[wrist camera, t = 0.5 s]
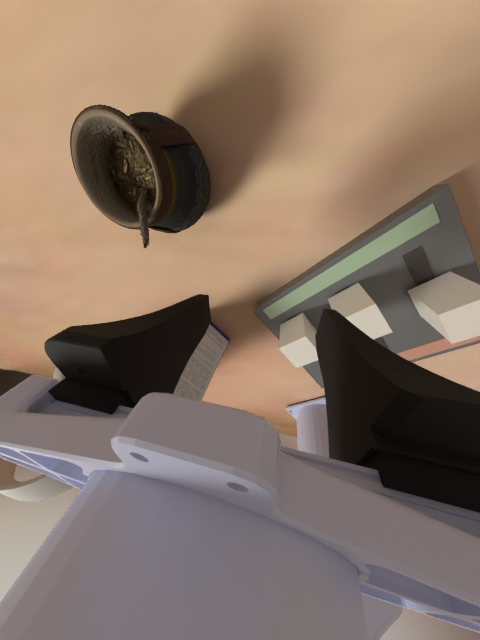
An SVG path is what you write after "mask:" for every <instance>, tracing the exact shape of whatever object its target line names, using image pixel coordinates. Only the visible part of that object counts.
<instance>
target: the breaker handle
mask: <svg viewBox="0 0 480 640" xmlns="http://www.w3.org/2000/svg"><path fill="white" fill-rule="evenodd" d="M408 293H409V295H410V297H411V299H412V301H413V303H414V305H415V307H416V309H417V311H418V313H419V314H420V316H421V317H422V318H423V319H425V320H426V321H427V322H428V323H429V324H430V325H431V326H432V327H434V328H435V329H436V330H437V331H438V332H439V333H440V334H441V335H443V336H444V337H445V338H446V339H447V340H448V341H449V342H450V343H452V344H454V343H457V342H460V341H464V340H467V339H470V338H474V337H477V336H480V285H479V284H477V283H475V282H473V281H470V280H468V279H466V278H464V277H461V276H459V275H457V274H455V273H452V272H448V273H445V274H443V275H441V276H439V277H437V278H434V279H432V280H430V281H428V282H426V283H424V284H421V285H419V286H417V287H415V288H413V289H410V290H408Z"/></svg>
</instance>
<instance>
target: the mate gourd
mask: <svg viewBox="0 0 480 640" xmlns="http://www.w3.org/2000/svg"><path fill="white" fill-rule="evenodd" d="M70 147H71V156H72V161H73V165H74V169H75V171H76V174H77V176H78V179H79V181H80V183H81V185H82V187H83V189H84V190H85V192H86V194H87V195H88V197H89V198H90V200H91V201H92V202H93V204H94V205H95V206H96V207H97V208H98V209H99V210H100V211H101V212H102V213H103V214H104V215H105V216H106V217H107V218H109V219H110V220H112V221H113V222H115V223H117V224H119V225H121V226H123V227H126V228H129V229H139V230H140V231H141V235H142V237H143V239H142V240H143V244H144V248H146V247H147V246H148V245H149V233H148V231H149V229H148V228H151V229H153V230H157V231H162V232H165V233H178V232H180V231H182V230H185V229H187V228H189V227H190V226H192V225H194V224H195V223H196V222H197V221H198V220H199V219H200V217H201V216H202V215H203V213H204V211H205V209H206V207H207V205H208V202H209V197H210V176H209V171H208V169H207V166H206V163H205V160H204V158H203V154H202V152H201V150H200V148H199V146H198V145H197V143H196V142H195V141H194V139H193V137H192V136H191V134H190V133H189V132H188V131H187V130H186V129H185V128H184V127H183V126H180V125H179V124H177V123H175V122H174V121H173V120H171V119H169V118H167V117H165V116H163V115H160V114H158V113H153V112H140V113H139V112H138V113H134V114H131V115H130V116H127V115H125V114H124V113H123V112H121V111H120V110H116V109H115V108H112V107H110V106H105V105H94V106H90V107H88V108H85V109H84V110H83V111H82V112H81V113H80V114H79V115H78V116H77V118H76V119H75V121H74V123H73V126H72V130H71V136H70Z"/></svg>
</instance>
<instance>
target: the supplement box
mask: <svg viewBox="0 0 480 640" xmlns="http://www.w3.org/2000/svg"><path fill="white" fill-rule="evenodd" d="M229 341H230V339H229V338H228V337H227V336H226V335H225V334H224V333H222V332H221V331H220V330H219V329H218V328H217V327H216V326H215V325H214V324H213V323H212V322H210V324H209V327H208V329H207V331H206V333H205V335H204V337H203V338H202V340H201V341H200V343H199V345H198V346H197V348H196V349H195V351H194V352H193V354H192V356H191V357H190V359H189V361H188V363H187V365H186V367H185V369H184V371H183V373H182V375H181V377H180V379H179V382H178V384H177V386H176V388H175V391H174V393H173V395H178V396H182V397H187V398H191V399H196V400H200V401H201V400H202V398H203V396H204V394H205V391H206V389H207V387H208V385H209V383H210V381H211V379H212V377H213V374H214V372H215V370H216V368H217V366H218V364H219V361H220V359H221V357H222V355H223V353H224V351H225V348H226V346H227V344H228V342H229Z"/></svg>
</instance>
